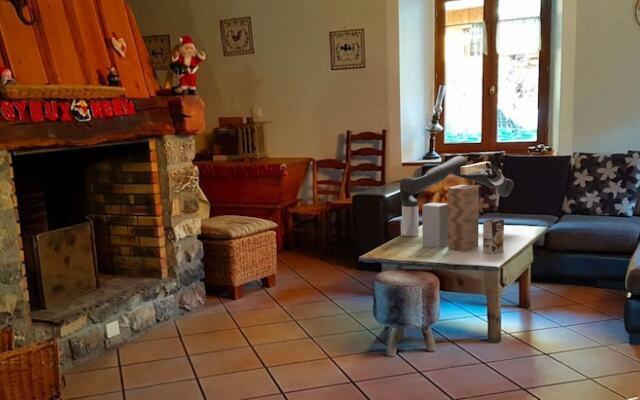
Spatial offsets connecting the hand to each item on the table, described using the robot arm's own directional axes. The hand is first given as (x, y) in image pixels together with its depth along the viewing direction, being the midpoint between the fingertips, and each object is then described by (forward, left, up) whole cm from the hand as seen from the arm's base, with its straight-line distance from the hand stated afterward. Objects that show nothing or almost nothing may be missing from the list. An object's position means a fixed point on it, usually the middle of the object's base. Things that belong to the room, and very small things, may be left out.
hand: (483, 163), depth 332 cm
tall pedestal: (+2, -27, -41) cm, 49 cm away
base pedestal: (-13, -29, -41) cm, 52 cm away
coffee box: (+18, -26, -41) cm, 52 cm away
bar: (0, -9, -3) cm, 9 cm away
